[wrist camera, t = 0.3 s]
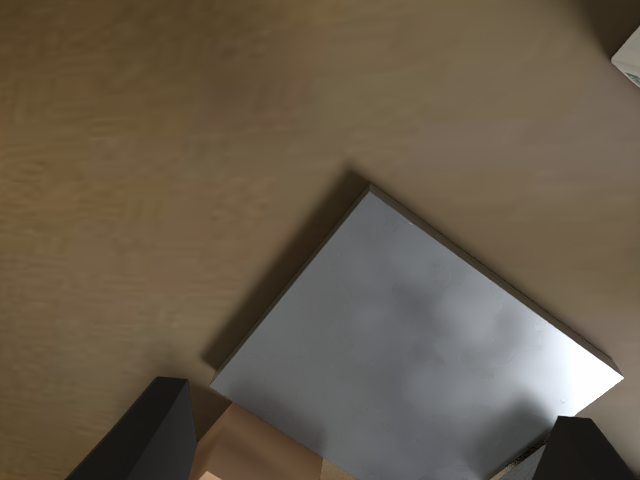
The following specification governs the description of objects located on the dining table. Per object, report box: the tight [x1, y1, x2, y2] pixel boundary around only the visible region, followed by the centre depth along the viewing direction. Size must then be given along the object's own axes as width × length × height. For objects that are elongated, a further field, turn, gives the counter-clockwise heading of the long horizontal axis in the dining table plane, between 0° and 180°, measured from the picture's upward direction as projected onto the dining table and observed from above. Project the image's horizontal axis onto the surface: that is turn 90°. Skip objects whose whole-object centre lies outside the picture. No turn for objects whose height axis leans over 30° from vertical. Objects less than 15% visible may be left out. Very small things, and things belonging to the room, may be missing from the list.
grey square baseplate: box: [209, 182, 624, 480], centre depth 22 cm, size 11×12×1 cm
